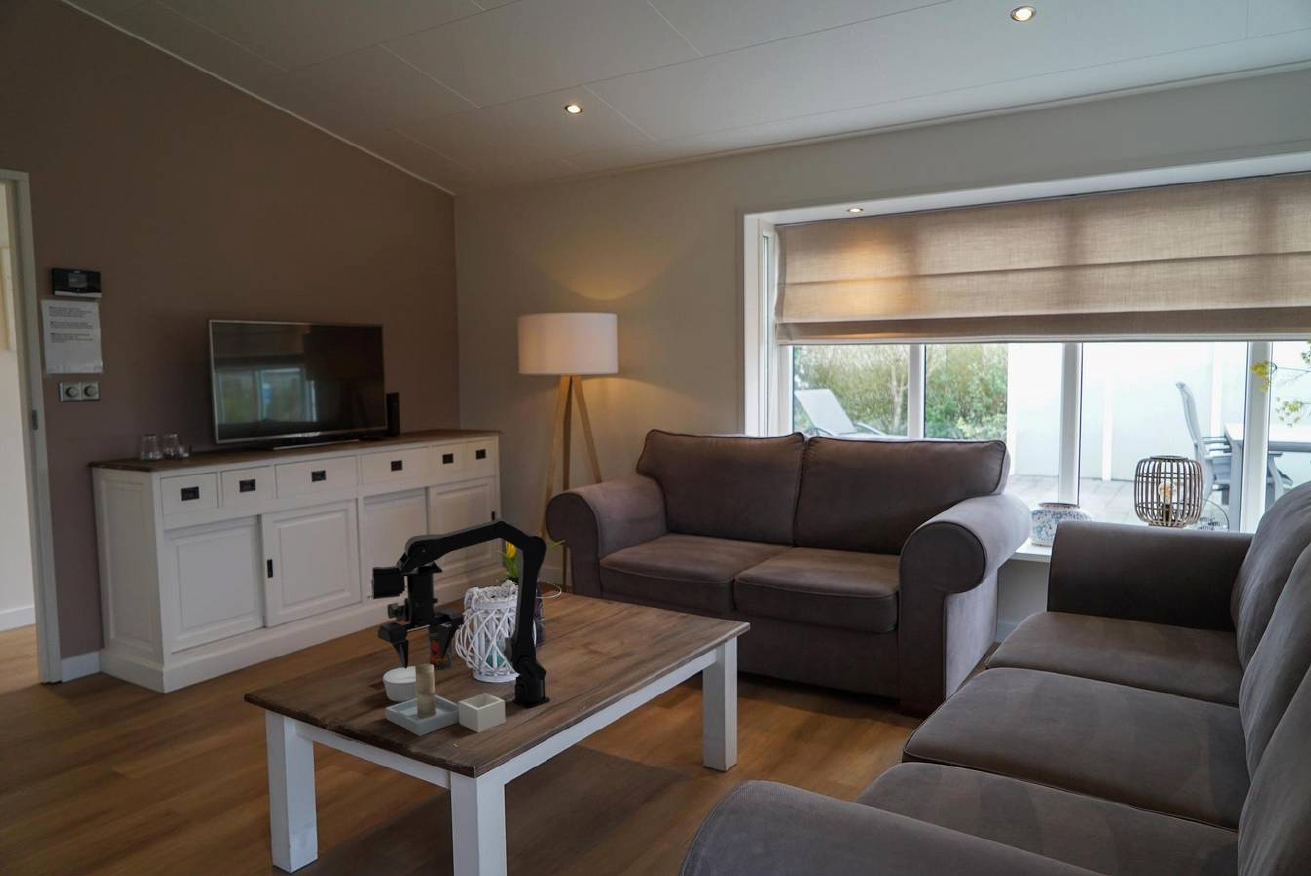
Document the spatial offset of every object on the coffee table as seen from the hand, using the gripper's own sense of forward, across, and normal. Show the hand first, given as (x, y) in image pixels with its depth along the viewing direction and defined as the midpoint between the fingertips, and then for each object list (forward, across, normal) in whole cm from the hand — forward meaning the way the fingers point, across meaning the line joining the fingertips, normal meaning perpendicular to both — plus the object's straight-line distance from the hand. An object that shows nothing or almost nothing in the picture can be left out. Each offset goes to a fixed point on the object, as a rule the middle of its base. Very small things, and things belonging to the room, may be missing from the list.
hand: (423, 662), depth 199 cm
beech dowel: (+12, 0, 0) cm, 12 cm away
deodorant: (+13, -22, -28) cm, 38 cm away
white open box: (+13, -7, +12) cm, 19 cm away
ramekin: (+13, -5, -16) cm, 22 cm away
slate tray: (+13, 0, 0) cm, 13 cm away
